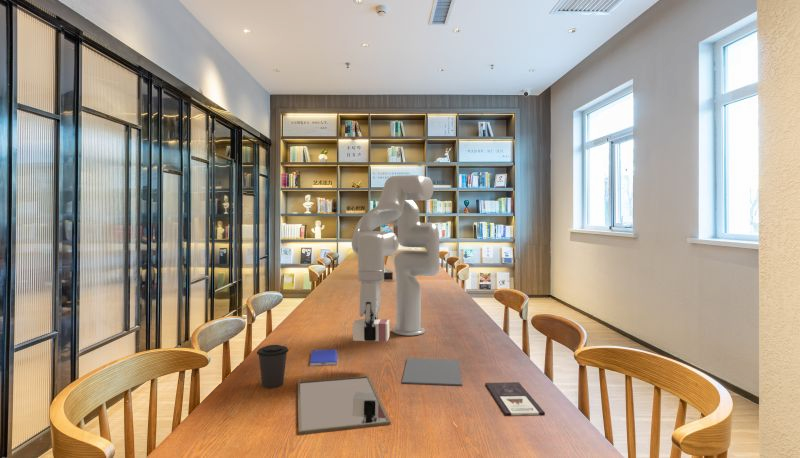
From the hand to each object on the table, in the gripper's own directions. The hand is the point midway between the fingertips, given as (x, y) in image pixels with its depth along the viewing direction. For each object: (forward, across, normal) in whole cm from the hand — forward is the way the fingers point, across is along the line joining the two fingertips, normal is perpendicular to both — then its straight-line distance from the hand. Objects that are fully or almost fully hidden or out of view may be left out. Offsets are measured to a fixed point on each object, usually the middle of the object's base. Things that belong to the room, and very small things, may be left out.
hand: (371, 336), depth 127 cm
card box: (+1, 0, 0) cm, 1 cm away
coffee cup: (+9, +15, -24) cm, 30 cm away
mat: (+9, +1, +18) cm, 20 cm away
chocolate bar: (+10, +18, +38) cm, 43 cm away
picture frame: (+9, +24, -4) cm, 26 cm away
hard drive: (+10, -7, -16) cm, 21 cm away
